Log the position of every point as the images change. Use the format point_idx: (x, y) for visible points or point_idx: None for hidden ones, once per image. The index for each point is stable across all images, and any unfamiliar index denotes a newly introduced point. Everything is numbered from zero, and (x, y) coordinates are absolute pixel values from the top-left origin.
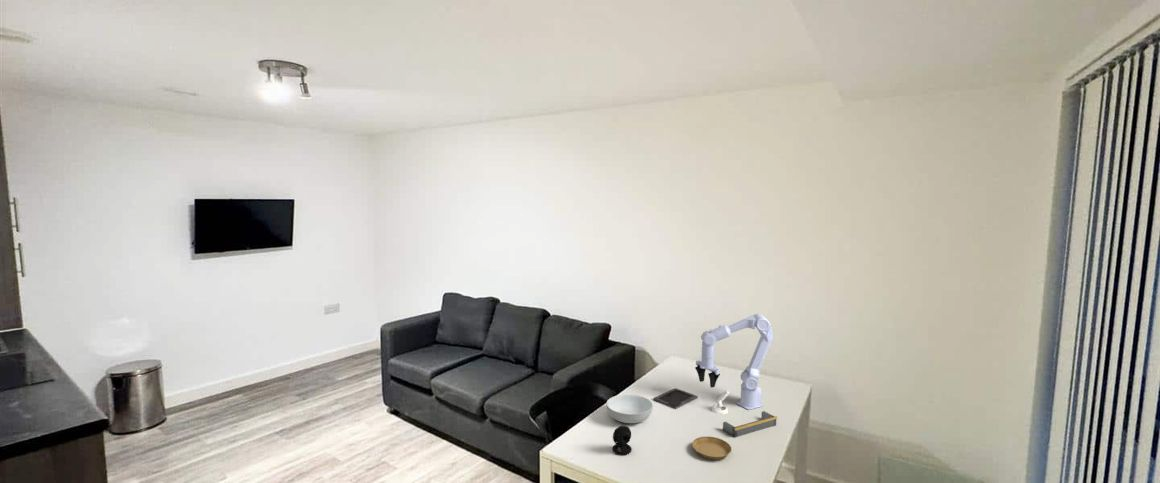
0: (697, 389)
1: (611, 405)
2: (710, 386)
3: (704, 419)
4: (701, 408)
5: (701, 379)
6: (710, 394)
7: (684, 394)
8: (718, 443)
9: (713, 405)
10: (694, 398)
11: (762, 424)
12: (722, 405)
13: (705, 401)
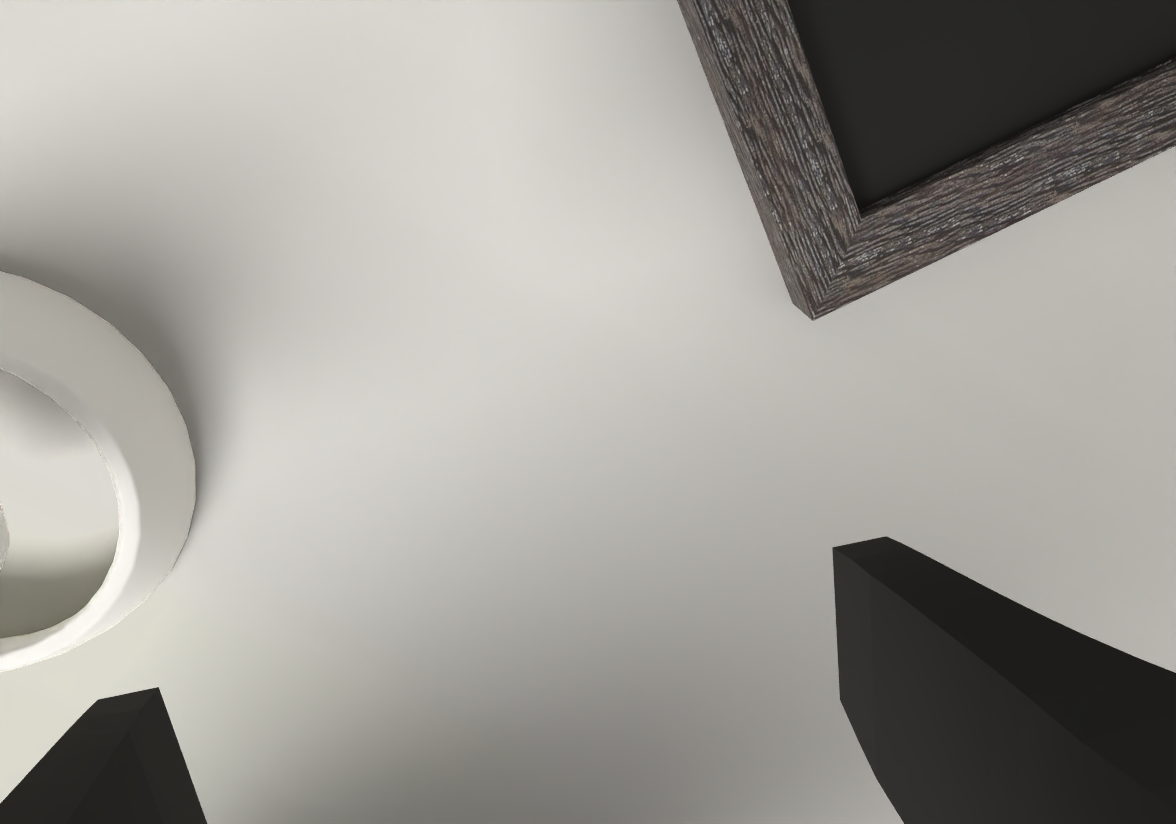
0: (1167, 535)
1: None
2: (145, 701)
3: None
4: (174, 57)
5: (876, 647)
6: (835, 673)
7: (1073, 44)
8: None
9: (78, 407)
10: (754, 183)
11: None
12: (57, 630)
13: (552, 394)
